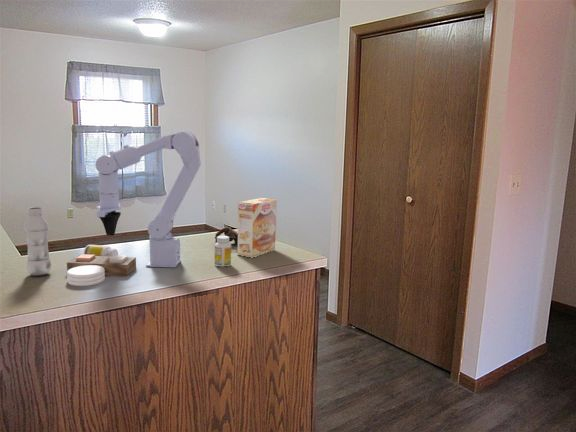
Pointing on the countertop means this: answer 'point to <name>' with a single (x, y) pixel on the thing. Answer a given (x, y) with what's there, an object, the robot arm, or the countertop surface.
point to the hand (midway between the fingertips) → (110, 235)
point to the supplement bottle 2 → (222, 251)
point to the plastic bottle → (37, 242)
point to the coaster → (85, 275)
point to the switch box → (107, 265)
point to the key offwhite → (118, 259)
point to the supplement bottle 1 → (100, 250)
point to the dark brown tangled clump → (228, 234)
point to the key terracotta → (85, 258)
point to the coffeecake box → (256, 226)
